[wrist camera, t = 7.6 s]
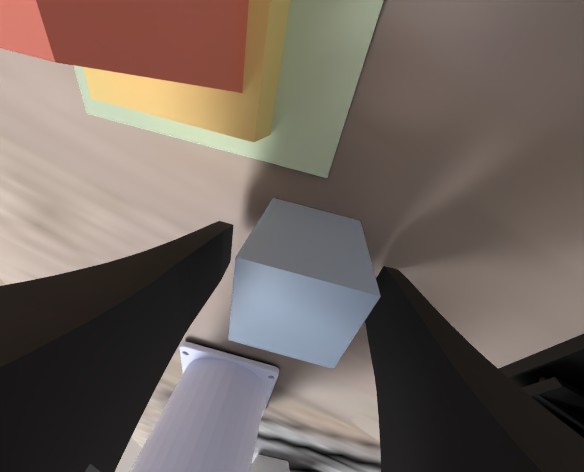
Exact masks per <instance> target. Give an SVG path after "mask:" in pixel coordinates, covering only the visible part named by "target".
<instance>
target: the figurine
mask: <svg viewBox="0 0 584 472" xmlns="http://www.w3.org/2000/svg"><path fill="white" fill-rule="evenodd" d="M249 472H290V470H289V464H288V461H284V460H280V459H276V458H272V457H268V456H263V455H259V454H258V455H257V457H256V459H255V460H254V462H253V464H252V466H251V467H250V471H249Z"/></svg>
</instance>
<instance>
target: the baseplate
mask: <svg viewBox="0 0 584 472" xmlns="http://www.w3.org/2000/svg"><path fill="white" fill-rule="evenodd" d="M383 1H384V0H291V1H290V8H289V14H288V21H287V28H286V34H285V41H284V47H283V54H282V61H281V67H280V74H279V81H278V87H277V94H276V101H275V107H274V114H273V121H272V127H271V134H270V135H269V136H267V137H265V138H263V139H261V140H259V141H256V142H250V141H247V140H243V139H239V138H235V137H232V136H228V135H224V134H220V133H217V132H213V131H209V130H205V129H202V128H198V127H194V126H191V125H187V124H183V123H179V122H176V121H172V120H168V119H164V118H161V117H157V116H153V115H150V114H146V113H142V112H138V111H135V110H131V109H127V108H123V107H120V106H116V105H112V104H109V103H105V102H101V101H97V100H94V99H91V97H90V93H89V89H88V85H87V81H86V77H85V73H84V69H83V67H81V66H75V65H74V69H75V73H76V77H77V80H78V84H79V88H80V91H81V95H82V99H83V102H84V106H85V110H86V114H90V115H93V116H97V117H101V118H105V119H108V120H112V121H116V122H119V123H123V124H127V125H131V126H134V127H138V128H142V129H145V130H149V131H153V132H157V133H160V134H164V135H168V136H172V137H175V138H179V139H183V140H186V141H190V142H194V143H198V144H201V145H205V146H209V147H212V148H216V149H220V150H224V151H227V152H231V153H235V154H238V155H242V156H246V157H250V158H253V159H257V160H261V161H264V162H268V163H272V164H276V165H279V166H283V167H287V168H290V169H294V170H298V171H302V172H305V173H309V174H313V175H316V176H320V177H324V178H327V177H328V174H329V171H330V168H331V165H332V161H333V158H334V155H335V152H336V149H337V146H338V142H339V139H340V136H341V133H342V130H343V127H344V124H345V120H346V117H347V114H348V111H349V108H350V105H351V102H352V98H353V95H354V92H355V89H356V86H357V83H358V79H359V76H360V73H361V70H362V67H363V64H364V61H365V57H366V54H367V51H368V48H369V45H370V42H371V39H372V35H373V32H374V29H375V26H376V23H377V20H378V16H379V13H380V10H381V7H382V4H383Z"/></svg>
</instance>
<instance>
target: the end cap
mask: <svg viewBox="0 0 584 472" xmlns="http://www.w3.org/2000/svg"><path fill="white" fill-rule="evenodd" d="M499 370H500V371H501V372H502V373H503V374H504V375H505V376H507V377H508V378H509V379H510V380H511V381H513V382H514V383H515V384H516V385H517V386H518V387H520V388H521V389H522V390H523V391H525V392H526V393H527V394H528V395H530V396H531V397H532V398H533V399H535V400H536V401H537V402H538V403H539V404H541V405H542V406H543V407H544V408H546V409H547V410H548V411H549V412H551V413H552V414H553V415H554V416H556V417H557V418H558V419H560V420H561V421H562V422H563V423H565V424H566V425H567V426H569V427H570V428H571V429H573V430H574V431H575V432H576V433H578V434H579V435H580V436H582V437H583V438H584V334H582V335H580V336H578V337H575V338H573V339H570V340H568V341H565V342H563V343H561V344H558V345H556V346H553V347H551V348H548V349H546V350H543V351H541V352H539V353H536V354H534V355H531V356H529V357H526V358H524V359H522V360H519V361H517V362H514V363H512V364H509V365H507V366H504V367H502V368H500V369H499Z"/></svg>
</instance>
